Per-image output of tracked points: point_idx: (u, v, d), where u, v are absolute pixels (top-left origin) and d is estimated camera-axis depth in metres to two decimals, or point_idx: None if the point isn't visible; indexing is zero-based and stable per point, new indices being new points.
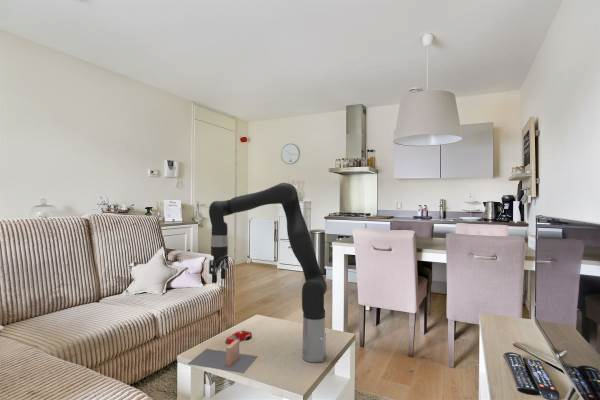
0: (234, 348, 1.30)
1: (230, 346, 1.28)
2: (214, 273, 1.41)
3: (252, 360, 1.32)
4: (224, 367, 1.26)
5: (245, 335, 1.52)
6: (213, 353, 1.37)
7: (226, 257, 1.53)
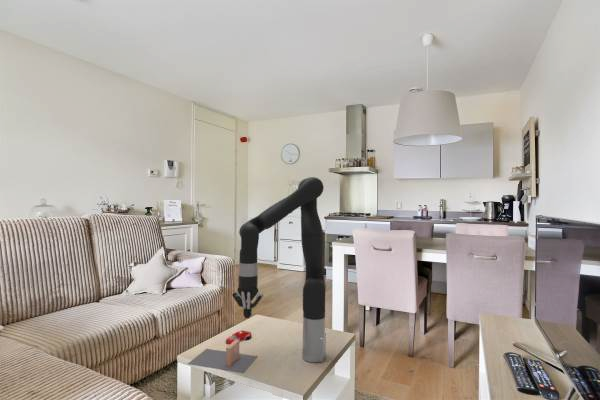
0: (234, 348, 1.30)
1: (230, 346, 1.28)
2: None
3: (252, 360, 1.32)
4: (224, 367, 1.26)
5: (245, 335, 1.52)
6: (213, 353, 1.37)
7: None
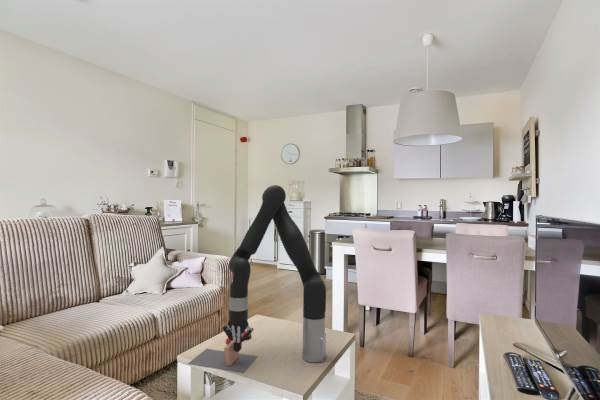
0: (232, 347, 1.30)
1: (228, 346, 1.29)
2: None
3: (252, 360, 1.32)
4: (224, 367, 1.26)
5: None
6: (213, 353, 1.37)
7: None
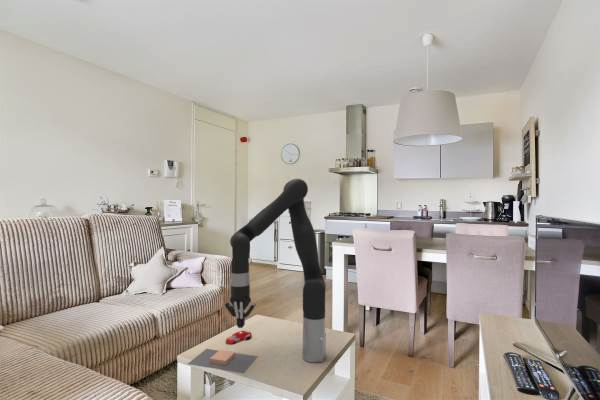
0: (216, 355, 1.32)
1: None
2: (248, 314, 1.30)
3: (252, 360, 1.32)
4: (224, 367, 1.26)
5: (245, 335, 1.52)
6: (213, 353, 1.37)
7: None
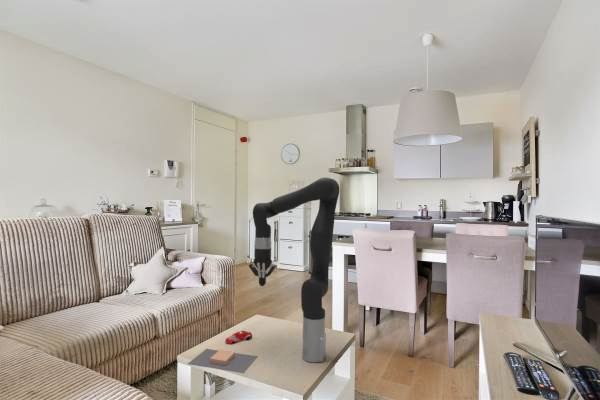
0: (216, 355, 1.32)
1: None
2: None
3: (252, 360, 1.32)
4: (224, 367, 1.26)
5: (245, 335, 1.52)
6: (213, 353, 1.37)
7: None
